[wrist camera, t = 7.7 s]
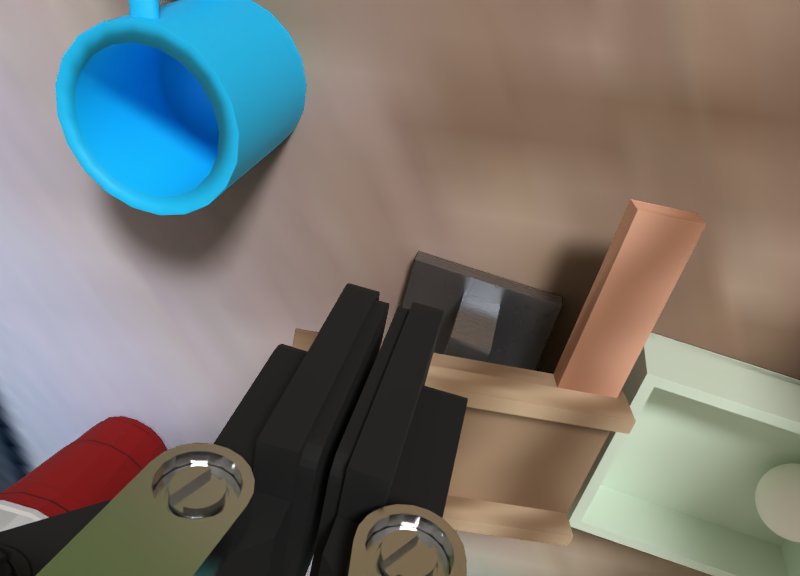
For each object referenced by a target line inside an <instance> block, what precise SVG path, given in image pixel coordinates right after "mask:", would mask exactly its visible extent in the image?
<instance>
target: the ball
mask: <svg viewBox="0 0 800 576" xmlns="http://www.w3.org/2000/svg"><path fill="white" fill-rule="evenodd" d="M755 503H756V508H757V511H758V513H759V515H760V517H761V519H762V520H763V522H764V523H765V524H766V525H767V527H768V528H770V529H771V530H772V531H773V532H774V533H776V534H777V535H779V536H781V537H783V538H785V539H787V540H790V541H795V542H800V464H796V463H788V464H782V465H778V466H776V467H774V468H772V469H770V470H769V471H768V472H766V473H765V474H764V475H763V476H762V478H761V479H760V481H759V482H758V485H757V488H756V492H755Z"/></svg>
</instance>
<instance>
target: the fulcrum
mask: <svg viewBox="0 0 800 576" xmlns="http://www.w3.org/2000/svg"><path fill="white" fill-rule="evenodd" d="M413 302H417V303H420V304H424V305H427V306H431V307H435V308H438V309H442V310H444V315H443V319H442V322H441V326H440V330H439V334H438V337H437V341H436V345H435V349H434V352H433V353H438V354H443V355H449V356H455V357H460V358H466V359H472V360H477V361H483V362H489V363H494V364H500V365H505V366H511V367H517V368H522V369H528V370H534V371H535V368H536V366H537V364H538V361H539V359H540V357H541V354H542V352H543V349H544V347H545V345H546V342H547V340H548V338H549V335H550V333H551V331H552V328H553V326H554V324H555V321H556V319H557V316H558V314H559V312H560V309H561V307H562V297H560V296H557V295H554V294H551V293H548V292H545V291H542V290H539V289H535V288H532V287H529V286H526V285H523V284H520V283H517V282H514V281H510V280H507V279H504V278H501V277H498V276H495V275H492V274H489V273H485V272H482V271H479V270H476V269H473V268H470V267H467V266H464V265H460V264H457V263H454V262H451V261H448V260H445V259H442V258H439V257H435V256H432V255H429V254H426V253H423V252H420V251H419V252H418V254H417V256H416V258H415V261H414V264H413V268H412V272H411V275H410V279H409V282H408V286H407V289H406V293H405V296H404V300H403V304H402V307H403V308H406V309H410V308H411V305H412V303H413Z"/></svg>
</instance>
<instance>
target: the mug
mask: <svg viewBox="0 0 800 576" xmlns="http://www.w3.org/2000/svg"><path fill="white" fill-rule="evenodd" d="M129 11H130V14H129V15H125V16H122V17H118V18H115V19H111V20H108V21H104V22H101V23H100V24H98V25H96V26H94V27H93V28H91V29H89V30H87V31H86V32H84V33H82V34H80V35H79V36H78V37H77V38H76V40H75V41H74V42H73V44H72V45H71V46H70V48H69V49H68V50H67V52H66V53H65V55H64V56H63V57H62V61H61V65H60V69H59V73H58V77H57V81H56V100H57V115H58V118H59V121H60V123H61V126H62V129H63V132H64V135H65V138H66V141H67V144H68V145H69V147H70V149H71V150H72V152H73V153H74V155H75V156H76V158H77V159H78V161H79V163H80V164H81V166H82V167H83V169H84V170H85V171H86V172H87V173H88V174H89V175H90V176H91V177H92V178H93V179H94V180H95V181H96V182H97V183H98V184H99V185H100V186H101V187H102V188H103V189H104V190H105V191H106V192H107V193H109V194H110V195H112V196H114V197H116V198H117V199H119V200H121V201H122V202H124V203H126V204H127V205H129V206H131V207H132V208H136V209H139V210H143V211H146V212H150V213H153V214H157V215H181V214H187V213H190V212H192V211H195V210H197V209H200V208H202V207H205V206H207V205H209V204H210V203H211V202H212V201H214V200H215V199H216V198H217V197H218V196H220V195H221V194H222V193H223V192H224V191H225V190H227V189H228V188H229V187H230V186H231V185H233V184H234V183H235V182H236V181H237V180H238V179H240V178H241V177H242V176H243V175H244V174H246V173H247V172H248V171H249V170H250V169H251V168H253V167H254V166H255V165H256V164H257V163H259V162H260V161H261V160H262V159H263V158H264V157H266V156H267V155H268V154H269V153H270V152H272V151H273V150H274V149H275V148H276V147H277V146H279V145H280V144H281V143H282V142H283V141H284V140H285V139H286V138H287V137H288V136H289V135H290V134H291V133H292V132H293V131H294V129H295V127H296V125H297V123H298V121H299V119H300V117H301V114H302V112H303V110H304V102H305V94H306V80H305V74H304V69H303V63H302V58H301V56H300V54H299V52H298V50H297V48H296V46H295V44H294V42H293V40H292V38H291V36H290V34H289V33H288V31H287V30H286V29H285V28H284V27H283V26H282V25H281V24H280V22H279V21H278V20H277V19H276V18H275V17H274V16H273V15H272V13H271V12H269V11H267V10H266V9H264V8H263V7H261V6H259V5H258V4H256V3H255V2H253V1H251V0H178V1H174V2H171V3H167V4H164V5H160V6H159V0H129Z"/></svg>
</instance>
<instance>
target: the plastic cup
mask: <svg viewBox="0 0 800 576" xmlns="http://www.w3.org/2000/svg"><path fill="white" fill-rule="evenodd" d="M164 451H167V449H166V447H165V445H164V443H163V441H162V439H161V438H160V437H159V436H158V435H157V434H156V433H155V432H154V431H153V430H152V429H151V428H149V427H148V426H146V425H144V424H142V423H141V422H139V421H137V420H134V419H130V418H127V417H123V416H120V417H109V418H108V419H106V420H104V421H102V422H100V423H98V424H97V425H95V426H94V427H92V428H91V429H90V430H88V431H87V432H86V433H84V434H83V435H82V436H81V437H79V438H78V439H77V440H75V441H74V442H72V443H71V444H69V445H68V446H66V447H64V448H63V449H61V450H60V451H59V452H57V453H56V454H55V455H53V456H52V457H51V458H49V459H48V460H47V461H45V462H44V463H42V464H41V465H40V466H38V467H37V468H36V469H34V470H33V471H32V472H30V473H29V474H28V475H26V476H25V477H24V478H22V479H21V480H19V481H18V482H17V483H15V484H14V485H12V486H11V487H9V488H8V489H6V490H4V491H3V492H1V493H0V532H1V531H5V530H8V529H12V528H15V527H18V526H22V525H25V524H29V523H32V522H35V521H39V520H42V519H46V518H49V517H52V516H56V515H59V514H63V513H66V512H69V511H73V510H76V509H80V508H83V507H86V506H90V505H93V504H97V503H100V502H103V501H107V500H110V499H113V498H114V497H115V496H116V495H117V494H118V493H119V492H120V491H121V490H122V489H123V488H124V487H125V486H126V485H127V484H128V483H129V482H130V481H131V480H132V479H133V478H135V477H136V476H137V475H138V474H139V473H140V472H141V471H142V470H143V469H144V468H145V467H146V466H147V465H148V464H149V463H150V462H151V461H152V460H153V459H155V458H156V457H157V456H159V455H160V454H161V453H163V452H164Z"/></svg>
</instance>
